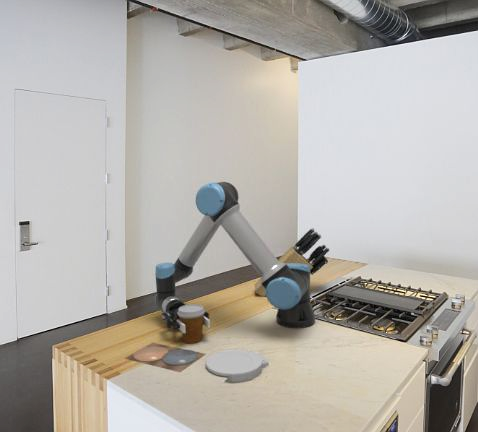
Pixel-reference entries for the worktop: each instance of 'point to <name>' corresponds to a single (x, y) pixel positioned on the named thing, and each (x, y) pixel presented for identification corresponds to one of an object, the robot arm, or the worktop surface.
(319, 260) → the knife block
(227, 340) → the worktop surface
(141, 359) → the terracotta disc
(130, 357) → the walnut board
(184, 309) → the disposable coffee cup
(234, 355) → the lid
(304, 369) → the worktop surface
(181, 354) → the slate disc
